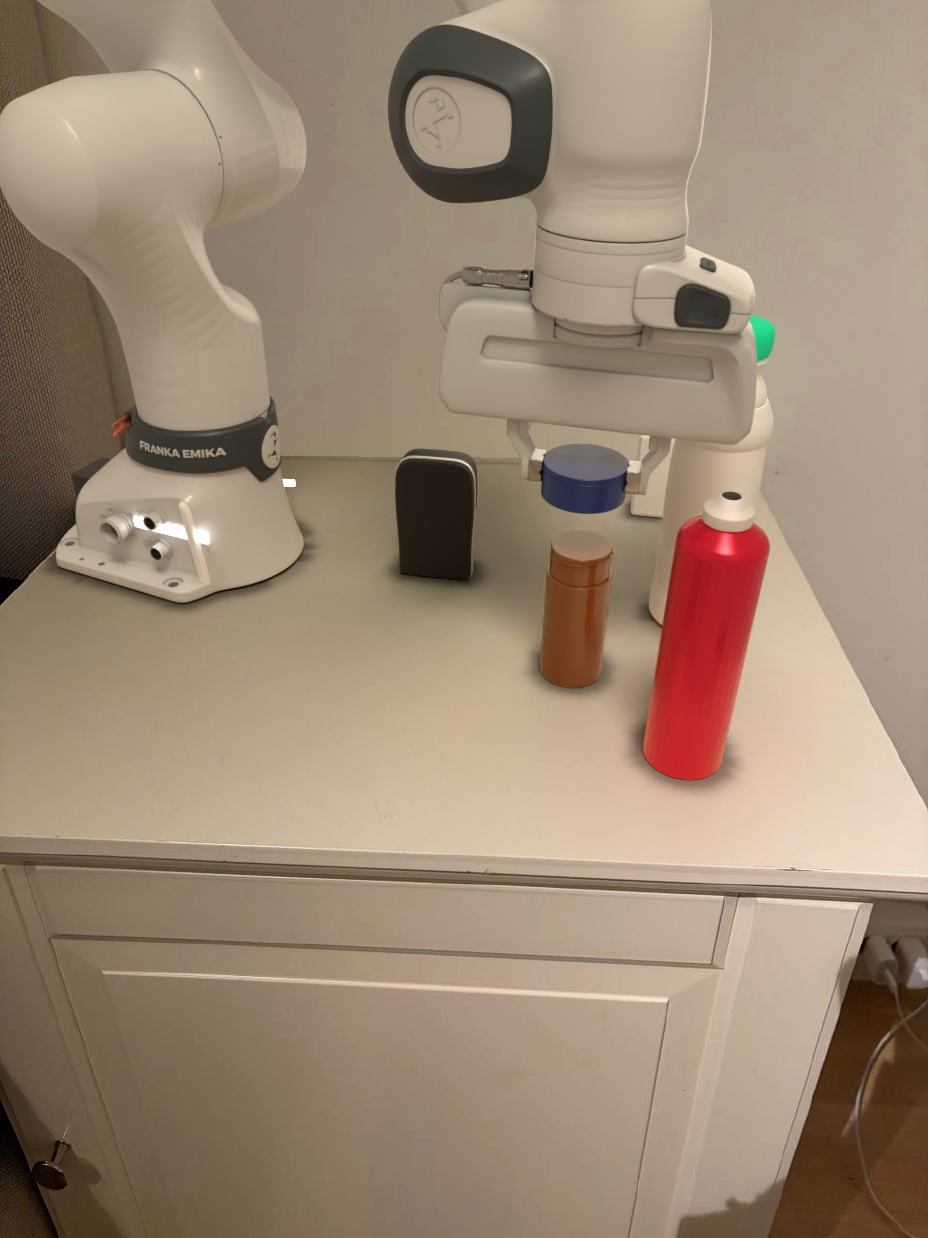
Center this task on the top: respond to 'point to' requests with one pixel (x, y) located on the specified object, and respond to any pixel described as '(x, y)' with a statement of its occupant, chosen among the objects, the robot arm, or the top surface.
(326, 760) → the top surface
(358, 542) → the top surface
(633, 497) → the white upright flat block
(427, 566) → the battery charger
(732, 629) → the bottle
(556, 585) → the jar
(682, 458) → the water bottle
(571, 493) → the lid
